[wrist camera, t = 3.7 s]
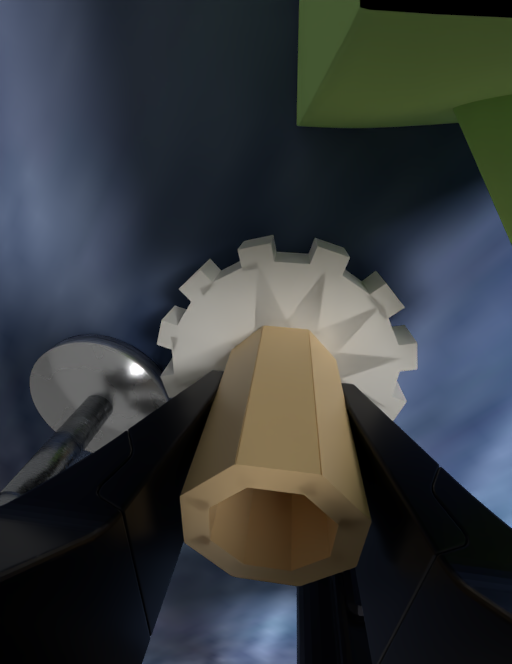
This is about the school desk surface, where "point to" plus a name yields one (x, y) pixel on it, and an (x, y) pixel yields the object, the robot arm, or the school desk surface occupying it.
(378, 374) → the gear
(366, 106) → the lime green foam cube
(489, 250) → the school desk surface
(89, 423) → the disc
